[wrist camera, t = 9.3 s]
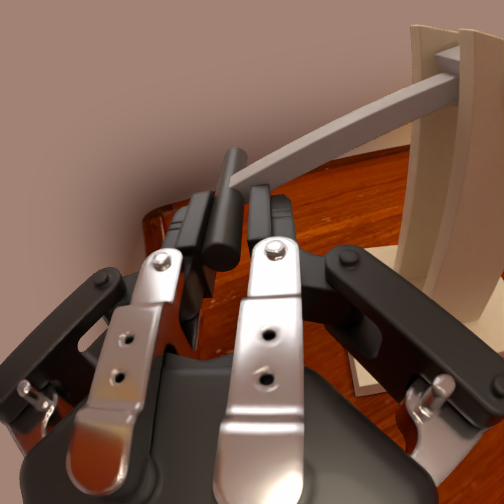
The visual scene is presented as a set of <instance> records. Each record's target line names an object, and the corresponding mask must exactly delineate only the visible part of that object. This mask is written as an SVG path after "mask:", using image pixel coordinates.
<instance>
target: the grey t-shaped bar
mask: <svg viewBox="0 0 504 504" xmlns="http://www.w3.org/2000/svg"><path fill="white" fill-rule="evenodd" d="M435 57H436V60H437V62H438V65H439V68H440V70H441V73H440V74H438V75H435V76H433V77H430V78H428V79H425V80H423V81H421V82H418V83H416V84H413V85H411V86H409V87H406V88H404V89H402V90H399V91H397V92H395V93H392V94H390V95H388V96H386V97H383V98H381V99H379V100H377V101H375V102H372V103H370V104H368V105H366V106H364V107H362V108H359V109H357V110H355V111H353V112H351V113H349V114H347V115H345V116H343V117H341V118H339V119H337V120H335V121H333V122H331V123H328V124H326V125H325V126H322V127H321V128H319V129H317V130H315V131H313V132H311V133H309V134H307V135H305V136H303V137H301V138H299V139H297V140H295V141H294V142H292V143H290V144H288V145H286V146H284V147H282V148H280V149H278V150H277V151H275V152H273V153H271V154H269V155H268V156H266V157H264V158H262V159H260V160H259V161H257V162H255V163H253V164H251V165H250V166H248V167H247V160H248V157H247V154H246V152H245V151H244V150H242V149H240V148H231V149H229V150H228V151H227V152H226V154H225V156H224V160H223V164H222V168H221V172H220V176H219V180H218V184H217V188H216V192H215V196H214V201H213V205H212V209H211V213H210V217H209V222H208V226H207V230H206V235H205V239H204V244H203V248H202V253H201V254H202V259H203V262H204V264H205V265H206V266H207V267H208V268H210V269H212V270H214V271H218V272H226V271H230V270H232V269H234V268H235V267H236V266H237V265H238V263H239V261H240V255H241V241H242V227H243V213H244V205H246V204H247V203H249V202H250V187H251V185H260V184H270V191H272V190H274V189H276V188H278V187H279V186H281V185H283V184H285V183H287V182H289V181H291V180H293V179H295V178H297V177H299V176H301V175H303V174H305V173H307V172H309V171H311V170H312V169H314V168H316V167H318V166H320V165H322V164H324V163H326V162H328V161H330V160H332V159H334V158H336V157H338V156H340V155H342V154H344V153H347V152H349V151H351V150H353V149H354V148H357V147H359V146H361V145H363V144H365V143H367V142H369V141H371V140H374V139H376V138H378V137H380V136H382V135H384V134H386V133H388V132H390V131H392V130H395V129H397V128H399V127H401V126H403V125H406V124H408V123H410V122H412V121H415V120H417V119H419V118H421V117H423V116H426V115H428V114H430V113H432V112H435V111H437V110H439V109H442V108H444V107H446V106H449V105H451V104H455V105H457V106H458V105H459V83H460V48H459V46H457V47H454V48H451V49H448V50H445V51H442V52H439V53H437V54H435Z"/></svg>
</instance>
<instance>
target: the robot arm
mask: <svg viewBox="0 0 504 504" xmlns="http://www.w3.org/2000/svg"><path fill="white" fill-rule="evenodd" d="M213 201H214V195H213V192H212V191H205V192H198V193H193V194H192V197H191V200H190V202H189V205H188V206H185V207H181V208H180V209H179V210H178V211H177V212H176V213H175V214H174V217H173V219H172V221H171V224H170V226H169V229H168V230H169V231H167V234H166V236H165V239H164V242H163V244H162V247H161V249H160V250H158V251H155V252H153V253H152V254H150V255H149V256H148V257H147V258H146V259H145V260H144V262H143V265H142V267H141V270H140V271H139V272H136V273H133V274H130V275H127V276H124V277H122V275H121V273H120V271H119V270H118V269H117V268H113V267H108V268H104V269H101V270H99V271H97V272H96V273H94V274H93V275H92V276H91V277H89V278H88V279H87V280H86V281H85V282H84V283H83V284H82V285H81V286H79V287H78V288H77V289H76V290H75V291H74V292H73V293H72V294H71V295H70V296H69V297H68V298H67V299H65V300H64V301H63V302H62V303H61V304H60V305H59V306H58V307H57V308H56V309H55V310H54V311H53V312H52V313H51V314H50V315H49V316H48V317H47V318H46V319H45V320H44V321H43V322H42V323H40V325H39V326H37V327H36V329H34V330H33V331H32V332H31V333H30V334H29V336H28V337H26V339H25V340H24V341H23V342H22V343H21V344H20V345H19V346H18V347H17V348H16V349H15V350H14V351H13V352H12V353H11V354H10V355H9V356H8V357H7V358H6V360H5V361H4V362H3V363H2V364H1V365H0V422H1V423H2V424H4V425H5V426H7V428H8V430H9V432H10V434H11V436H12V437H13V439H14V441H15V443H16V444H17V446H18V448H19V450H20V451H21V453H22V454H23V456H24V460H23V463H22V465H21V469H20V489H21V493H22V498H23V504H439V497H438V491H437V486H438V485H439V484H440V483H441V482H442V481H443V480H444V479H445V478H446V477H447V476H448V475H449V474H450V473H451V472H452V471H453V470H454V469H455V468H456V466H457V465H458V464H459V463H460V462H461V461H462V460H463V459H464V457H465V456H466V455H467V454H468V453H469V452H470V450H471V449H472V448H473V447H474V446H475V444H476V443H477V442H478V441H479V439H480V438H481V437H482V436H483V435H484V434H485V433H486V432H488V431H489V430H490V429H492V428H493V427H494V426H496V425H497V424H498V423H499V422H501V421H502V420H503V419H504V359H503V358H502V357H501V356H500V355H499V354H498V353H497V352H495V351H494V350H493V349H492V348H491V347H490V346H489V345H487V344H486V343H485V342H484V341H483V340H482V339H480V338H479V337H478V336H477V335H476V334H474V333H473V332H472V331H471V330H470V329H468V328H467V327H466V326H465V325H464V324H462V323H461V322H460V321H459V320H457V319H456V318H455V317H454V316H452V315H451V314H450V313H449V312H447V311H446V310H445V309H444V308H442V307H441V306H440V305H439V304H437V303H436V302H435V301H434V300H432V299H431V298H430V297H428V296H427V295H426V294H425V293H423V292H422V291H421V290H419V289H418V288H417V287H415V286H414V285H413V284H411V283H410V282H409V281H407V280H406V279H405V278H403V277H402V276H401V275H399V274H398V273H397V272H395V271H394V270H393V269H391V268H390V267H389V266H387V265H386V264H385V263H383V262H382V261H380V260H379V259H378V258H376V257H375V256H373V255H372V254H371V253H369V252H368V251H366V250H365V249H363V248H361V247H359V246H355V245H340V246H337V247H334V248H332V249H331V250H330V251H329V252H328V253H327V254H326V256H320V255H314V254H310V253H308V252H306V251H304V250H303V249H301V248H300V247H299V245H298V243H297V240H296V233H295V226H294V219H293V213H292V206H291V200H290V199H288V198H287V197H286V196H285V195H284V194H282V195H273V196H271V191H270V184H260V185H251V187H250V203H249V218H248V234H247V242H248V247H249V252H250V257H251V268H250V277H249V286H248V294H247V296H243V297H242V299H241V304H240V311H239V319H238V326H237V334H236V341H235V349H234V353H233V354H229V355H225V356H221V357H217V358H213V359H209V360H204V361H201V360H200V350H201V339H202V328H203V318H204V312H203V309H202V306H201V305H202V300H203V298H212V297H213V291H214V284H215V278H216V271H214V270H212V269H210V268H208V267H207V266H206V265H205V264H204V262H203V259H202V254H201V253H202V248H203V244H204V239H205V235H206V230H207V226H208V222H209V217H210V213H211V209H212V205H213ZM101 317H102V318H103V319H104V321H105V322H106V324H107V325H108V326H109V327H108V328H107V329H106V330H105V331H104V332H103V333H102V334H101V335H100V336H99V337H98V338H97V339H96V340H95V342H93V343H92V345H91V346H90V347H89V348H88V349H87V350H86V351H84V352H79V350H78V341H79V340H80V338H81V337H82V336H83V335H84V334H85V333H86V332H87V331H88V330H89V329H90V328H91V327H92V326H93V325H94V324H95V323H96V322H97V321H98V320H99V319H100V318H101ZM303 320H305V321H311V322H316V323H322V324H324V326H325V328H326V330H327V331H328V332H329V333H330V334H331V335H332V336H333V337H334V338H335V339H336V340H337V341H338V342H339V343H340V344H341V345H342V346H343V347H344V348H345V349H346V350H347V351H348V352H349V353H350V354H351V355H352V356H353V357H354V358H355V359H356V360H357V361H358V362H359V364H360V365H361V366H362V367H363V368H364V369H365V370H366V371H367V372H368V373H369V374H370V375H371V376H372V377H373V378H374V379H375V380H376V381H377V382H378V383H379V384H380V385H381V386H382V387H383V388H384V389H385V390H386V391H387V392H388V393H389V394H390V395H391V396H392V397H393V398H394V399H395V400H396V401H397V402H398V403H399V406H398V408H397V410H396V416H395V418H396V424H397V426H398V429H399V430H400V431H401V433H402V434H403V436H404V439H405V443H406V450H405V451H404V450H403V449H402V448H401V447H399V446H398V445H397V444H396V443H395V442H394V441H393V440H391V439H390V438H389V437H388V436H387V435H386V434H385V433H384V432H382V431H381V430H380V429H379V428H378V427H377V426H376V425H375V424H374V423H372V422H371V421H370V420H369V419H368V418H367V417H366V416H365V415H364V414H362V413H361V412H360V411H359V410H358V409H357V408H356V407H355V406H354V405H353V404H352V403H350V402H349V401H348V400H347V399H346V398H345V397H344V396H343V395H342V394H341V393H340V392H339V391H338V390H336V389H335V388H334V387H333V386H332V385H331V384H330V383H329V382H328V381H327V380H326V379H325V378H324V377H322V376H321V375H320V374H318V373H317V372H316V371H314V370H312V369H310V368H308V367H307V366H304V344H303Z"/></svg>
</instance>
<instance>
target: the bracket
mask: <svg viewBox="0 0 504 504" xmlns="http://www.w3.org/2000/svg"><path fill="white" fill-rule="evenodd" d="M410 33H411V50H412V85H413V84H416V83H418V82H421V81H423V80H425V79H428V78H430V77H433V76H435V75H438V74H440V73H441V70H440V68H439V65H438V62H437V60H436V57H435V54H437V53H439V52H442V51H445V50H448V49H451V48H454V47H457V46H459V48H460V83H459V105H458V106H457V105H455V104H451V105H449V106H446V107H444V108H442V109H439V110H437V111H435V112H432V113H430V114H428V115H426V116H423V117H421V118H419V119H417V120H415V121H412V125H411V143H410V156H409V168H408V178H407V187H406V195H405V203H404V210H403V217H402V224H401V230H400V236H399V242H398V245H395V246H385V247H376V248H366V249H365V250H366V251H368V252H369V253H371V254H372V255H373V256H375V257H376V258H378V259H379V260H380V261H382V262H383V263H385V264H386V265H387V266H389V267H390V268H391V269H393V270H394V271H395V272H397V273H398V274H399V275H401V276H402V277H403V278H405V279H406V280H407V281H409V282H410V283H411V284H413V285H414V286H415V287H417V288H418V289H419V290H421V291H422V292H423V293H425V294H426V295H427V296H428V297H430V298H431V299H432V300H434V301H435V302H436V303H437V304H439V305H440V306H441V307H442V308H444V309H445V310H446V311H447V312H449V313H450V314H451V315H452V316H454V317H455V318H456V319H457V320H459V321H460V322H461V323H462V324H464V325H465V326H466V327H467V328H468V329H470V330H471V331H472V332H473V333H474V334H476V335H477V336H478V337H479V338H480V339H482V340H483V341H484V342H485V343H486V344H487V345H489V346H490V347H491V348H492V349H493V350H494V351H495V352H497V353H498V354H499V355H500V356H501V357H502V358H503V359H504V281H503V279H502V278H501V275H502V272H503V270H504V39H502V38H500V37H497V36H494V35H490V34H487V33H484V32H480V31H477V30H471V29H463V28H459V32H455V31H450V30H445V29H440V28H435V27H429V26H423V25H410ZM348 356H349V361H350V367H351V372H352V378H353V383H354V389H355V395H356V397H359V396H365V395H371V394H376V393H382V392H387V391H386V390H385V389H384V388H383V387H382V386H381V385H380V384H379V383H378V382H377V381H376V380H375V379H374V378H373V377H372V376H371V375H370V374H369V373H368V372H367V371H366V370H365V369H364V368H363V367H362V366H361V365H360V364H359V362H358V361H357V360H356V359H355V358H354V357H353V356H352V355H351V354H350V353H349V352H348Z"/></svg>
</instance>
